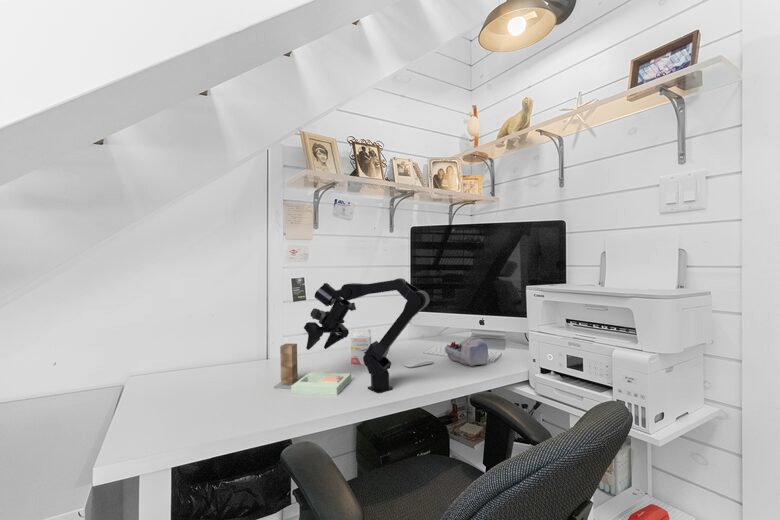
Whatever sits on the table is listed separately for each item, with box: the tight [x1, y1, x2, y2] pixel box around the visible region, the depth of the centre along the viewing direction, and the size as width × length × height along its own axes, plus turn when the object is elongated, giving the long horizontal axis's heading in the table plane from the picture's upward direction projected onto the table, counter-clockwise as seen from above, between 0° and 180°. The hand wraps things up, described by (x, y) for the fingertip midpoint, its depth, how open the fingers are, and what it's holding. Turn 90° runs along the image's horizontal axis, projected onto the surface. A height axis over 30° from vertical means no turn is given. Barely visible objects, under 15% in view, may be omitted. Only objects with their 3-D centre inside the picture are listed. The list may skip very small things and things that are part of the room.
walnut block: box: [279, 343, 299, 386], centre depth 137 cm, size 4×4×14 cm
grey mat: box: [273, 379, 300, 390], centre depth 137 cm, size 8×8×1 cm
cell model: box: [444, 338, 489, 367], centre depth 163 cm, size 13×11×20 cm
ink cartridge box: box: [350, 328, 372, 365], centre depth 166 cm, size 9×5×15 cm, turn 84°
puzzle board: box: [290, 372, 352, 396], centre depth 134 cm, size 16×16×4 cm
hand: (316, 348), depth 138 cm, fingers open, 9 cm apart
